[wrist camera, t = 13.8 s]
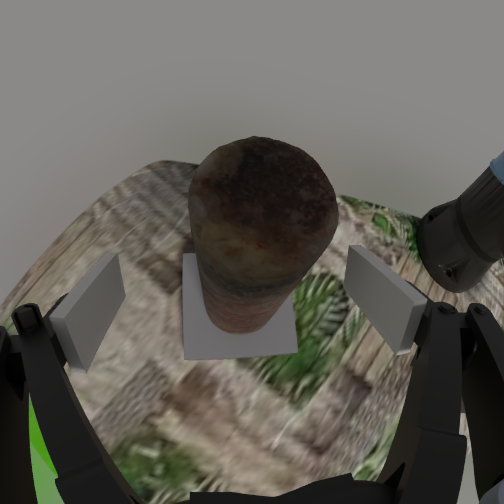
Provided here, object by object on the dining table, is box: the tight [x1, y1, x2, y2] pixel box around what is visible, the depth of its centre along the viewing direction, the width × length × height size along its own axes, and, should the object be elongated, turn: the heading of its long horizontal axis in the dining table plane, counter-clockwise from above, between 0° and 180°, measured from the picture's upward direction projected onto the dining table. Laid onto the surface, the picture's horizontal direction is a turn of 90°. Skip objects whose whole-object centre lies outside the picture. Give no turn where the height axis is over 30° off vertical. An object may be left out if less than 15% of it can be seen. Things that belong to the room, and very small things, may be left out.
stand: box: [183, 253, 298, 360], centre depth 32 cm, size 12×12×3 cm
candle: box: [188, 136, 339, 335], centre depth 21 cm, size 8×7×20 cm
